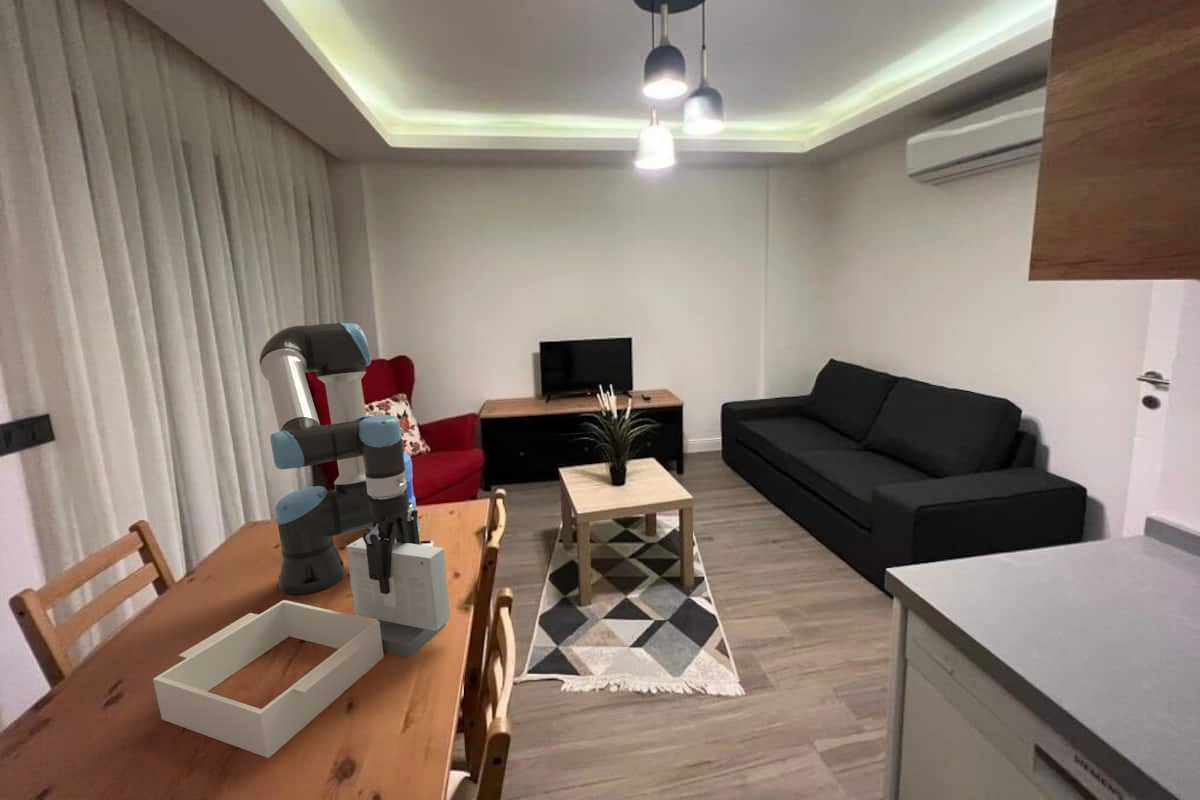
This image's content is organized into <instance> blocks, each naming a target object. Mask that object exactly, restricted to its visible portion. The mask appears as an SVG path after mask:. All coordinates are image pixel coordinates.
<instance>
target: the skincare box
mask: <svg viewBox="0 0 1200 800" xmlns="http://www.w3.org/2000/svg"><path fill="white" fill-rule="evenodd" d="M345 548H346V554H347V561H348V570H349V578H350V587H351V592H352V602H353V611H354V615H355V616H359V617H364V618H368V619H373V620H382V621H387V622H392V623H398V624H403V625H408V626H413V627H418V628H423V629H428V630H433V631H437V630H438V629H439V628H441V627H442V626H443V625H444V624H445V623H447V622H448V621H449V620H450V619H451V609H450V599H449V590H448V579H447V568H446V557H445V548H444V547H440V546H439V547H438V546H437V547H436V546H431V545H425V544H424V545H423V544H421V545H418V544H410V543H400V542H397V541H395V543H394V544H393V545H392V553H391V555H392V558H391V571H390V576H394V584H395V593H396V601H397V606H396V607H395V608H394V607H389V606H384V602H383V594H382V593H381V592H380V585H379V581H377V580H372V579H370V578H369V569H368V560H367V550H366V544H365V542H364V540H363V536H362V537H359V538H358V539H356V540H355V541H353V542H351V543H350V544H348V545H346V546H345ZM445 625H446V624H445ZM445 625H444V626H445ZM444 626H443V627H444ZM443 627H442V628H443ZM442 628H441V629H442Z"/></svg>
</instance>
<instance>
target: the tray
mask: <svg viewBox="0 0 1200 800" xmlns="http://www.w3.org/2000/svg"><path fill="white" fill-rule="evenodd" d="M289 637H290V638H295V639H299V640H302V641H305V642H306V641H307V642H311V643H314V644H319V645H322V646H327V647H329V648H333V649H337V650H336V651H334V652H333V653H331V654H330V656H328V657H327V658H326V659H324V660H323V661H321V662H320V663H319V664H317V666H315V667H314V668H313V669H312V670H310V671H309V672H308V673H306V674H305V675H303V676H302V677H301V678H299V680H297V681H296V682H294V683H293V684H292V685H291V686H290V687H289V688H287V689H286V690H285V691H283V692H282V693H281V694H279V695H277V696H276V697H275V698H274V699H273V700H271V701H270V702H269V703H268V704H266V705H265V706H264V707H263V708H259V707H256V706H252V705H251V704H250V705H249V704H246V703H243V702H241V701H237V700H234V699H231V698H228V697H225V696H222V695H219V694H216V693H212V692H209V691H211V690H212V689H213V688H215V687H216V686H218V685H219V684H221V683H222V682H224V681H226V680H227V679H228V678H230V677H231V676H233V675H235V674H236V673H237V672H238V671H240V670H242V669H243V668H244V667H246V666H247V665H249V664H250V663H252V662H254V661H256V659H257V658H259V657H261V656H262V655H264V654H265V653H266V652H268V651H269V650H271V649H273V648H274V647H276V645H279V644H280V643H281V642H283V641H284V640H285V639H287V638H289ZM178 657H180V658H183V660H182V661H179V663H177V664H174V665H173V666H172V667H170V668H169V669H167V670H165V671H163V672H162V673H160V674H159V675H157V676H155V677H153V679H152V682H153V686H154V691H155V695H156V700H157V704H158V707H159V708H158V709H159V712H160V716H161V720H162V721H166V722H167V723H171V724H174V725H176V726H179V727H182V728H185V729H187V730H190V731H193V732H196V733H198V734H201V735H204V736H206V737H209V738H212V739H214V740H215V739H216V740H218V741H220V742H223V743H226V744H228V745H231V746H233V747H237V748H240V749H242V750H245V751H248V752H251V753H253V754H256V755H259V756H262V757H264V758H267V759H269V758H271V757H272V756H273V755H274V754H275V753H277V751H279V750H280V748H282V747H283V746H284V745H286V744H287V743H288V742H289V741H290V740H291V739H292V738H294V736H296V735H297V734H298V733H299V732H300V731H301V730H303V729H304V728H305V727H306V726H307V725H308V724H309V723H311V721H313V720H314V719H315V718H317V716H318V715H319V714H321V713H322V712H323V711H324V710H326V709H327V708H328V707H329V706H330V705H331V704H332V703H333V702H335V700H336V699H338V698H339V697H340V696H341V695H343V693H345V692H346V691H347V690H348V689H349V688H350V687H351V686H353V685H354V684H355V683H356V682H357V681H359V679H361V678H362V677H363V676H364V675H365V674H367V672H369V670H371V669H372V668H374V666H375V665H376V664H378V663H379V662H380V661H381V660H382V659H384V657H385V655H384V652H383V647H382V639H381V631H380V623H379V621H377V619H372V618H367V617H362V616H357V615H355V614H350V613H345V612H340V611H336V610H331V609H329V608H328V609H326V608H322V607H318V606H313V605H309V604H304V603H301V602H296V601H291V600H286V599H283V600H281V601H279V602H278V603H276V604H274V605H272V606H271V607H269V608H268V609H266V610H264V611H263V612H261V613H260V614H258V613H252V612H249V613H247V614H245V615H244V616H242V617H240V618H239V619H237V620H235V621H233V622H232V623H230V624H229V625H227V626H225V627H223V628H222V629H221V630H219V631H217V632H215V633H213V634H212V635H210V636H208V637H207V638H205V639H203V640H201V641H200V642H198V643H197V644H195V645H193V646H191V647H190V648H188V649H187V650H185V651H183V652H181V653H179V654H178ZM353 683H354V684H353ZM345 690H346V691H345ZM344 691H345V692H344Z"/></svg>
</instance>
